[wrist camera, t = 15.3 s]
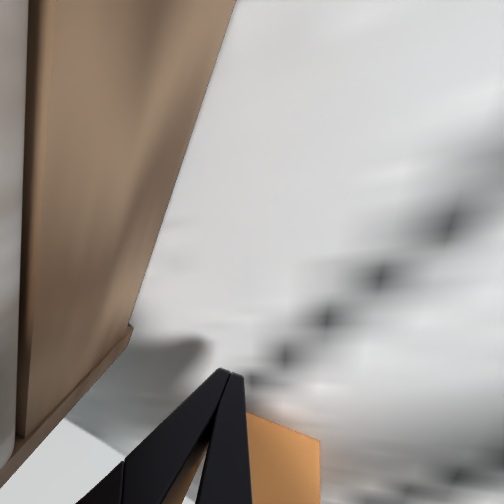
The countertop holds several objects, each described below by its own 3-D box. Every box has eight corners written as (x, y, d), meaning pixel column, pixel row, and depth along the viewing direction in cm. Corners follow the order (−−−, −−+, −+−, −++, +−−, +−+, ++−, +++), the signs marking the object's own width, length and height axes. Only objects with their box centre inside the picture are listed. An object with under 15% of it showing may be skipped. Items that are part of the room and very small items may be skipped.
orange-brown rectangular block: (229, 401, 14) (198, 493, 10) (319, 437, 13) (320, 546, 10) (210, 458, 17) (180, 546, 13) (285, 489, 16) (275, 590, 13)
